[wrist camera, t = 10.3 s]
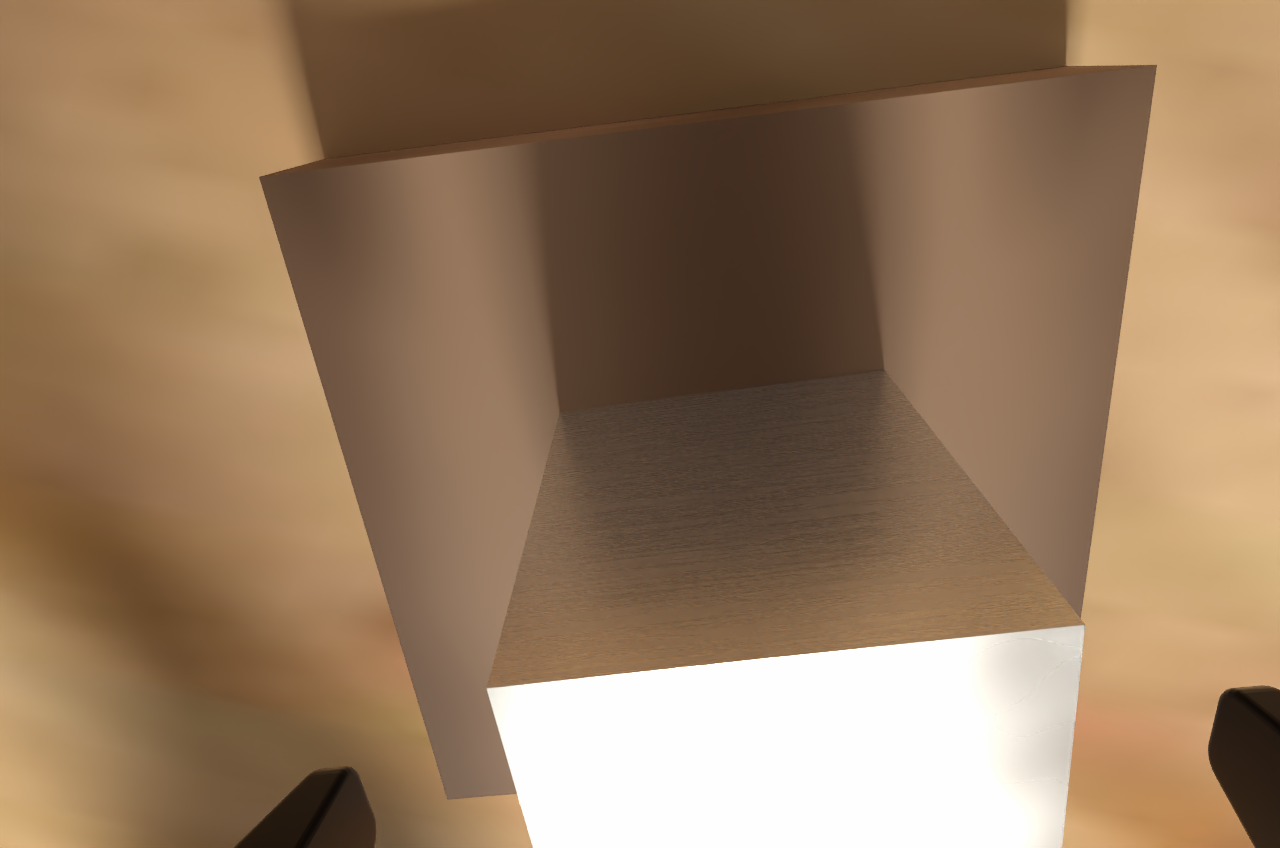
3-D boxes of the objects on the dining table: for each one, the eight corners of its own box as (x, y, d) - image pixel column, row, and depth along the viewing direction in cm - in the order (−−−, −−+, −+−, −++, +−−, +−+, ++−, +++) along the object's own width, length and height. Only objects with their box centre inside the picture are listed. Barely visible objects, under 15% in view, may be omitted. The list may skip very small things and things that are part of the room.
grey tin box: (610, 662, 14) (587, 1032, 9) (560, 412, 12) (486, 689, 7) (889, 633, 14) (1045, 997, 8) (884, 369, 12) (1085, 624, 6)
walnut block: (476, 691, 18) (447, 799, 16) (336, 155, 14) (259, 177, 11) (998, 645, 18) (1062, 749, 15) (1048, 66, 13) (1156, 65, 10)
